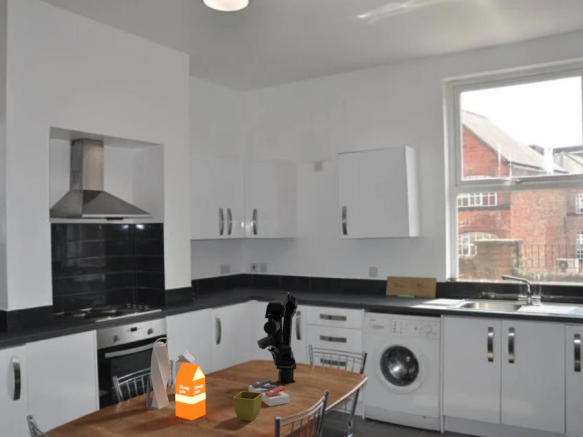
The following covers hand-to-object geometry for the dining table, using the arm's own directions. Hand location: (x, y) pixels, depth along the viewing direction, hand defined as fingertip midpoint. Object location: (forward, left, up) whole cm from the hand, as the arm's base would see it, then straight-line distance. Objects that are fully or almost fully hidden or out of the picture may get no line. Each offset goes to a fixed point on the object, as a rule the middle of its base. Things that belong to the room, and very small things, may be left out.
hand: (276, 365), depth 235 cm
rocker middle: (+6, +4, -8) cm, 11 cm away
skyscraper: (+50, -8, -12) cm, 52 cm away
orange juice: (+42, +9, -12) cm, 45 cm away
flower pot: (+24, +24, -12) cm, 36 cm away
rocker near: (+6, -3, -8) cm, 10 cm away
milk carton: (+36, -18, -12) cm, 42 cm away
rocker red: (+6, +11, -8) cm, 15 cm away
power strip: (+6, +1, -12) cm, 13 cm away
